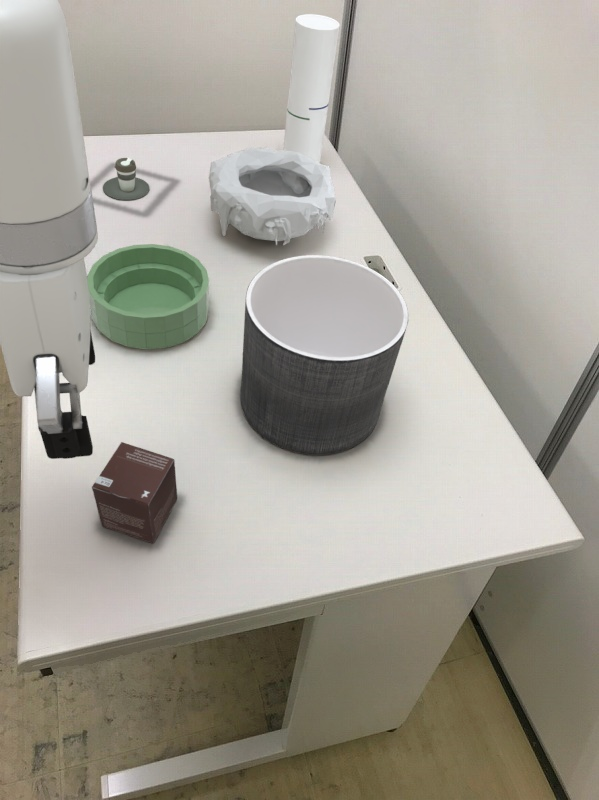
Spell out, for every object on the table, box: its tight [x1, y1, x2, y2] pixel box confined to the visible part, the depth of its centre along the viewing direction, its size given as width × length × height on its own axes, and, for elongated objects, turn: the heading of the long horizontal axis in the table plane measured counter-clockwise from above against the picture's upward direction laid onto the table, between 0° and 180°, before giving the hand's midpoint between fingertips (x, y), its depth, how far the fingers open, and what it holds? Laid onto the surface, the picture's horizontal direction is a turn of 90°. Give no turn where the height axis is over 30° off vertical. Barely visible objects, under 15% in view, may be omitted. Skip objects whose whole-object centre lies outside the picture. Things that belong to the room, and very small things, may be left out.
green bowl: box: [87, 243, 210, 350], centre depth 87 cm, size 16×16×6 cm
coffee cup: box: [102, 157, 150, 201], centre depth 108 cm, size 12×12×5 cm
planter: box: [239, 254, 409, 456], centre depth 75 cm, size 18×18×16 cm
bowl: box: [208, 146, 337, 246], centre depth 103 cm, size 21×20×10 cm
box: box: [91, 441, 178, 544], centre depth 65 cm, size 6×6×7 cm
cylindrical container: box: [282, 13, 341, 164], centre depth 112 cm, size 7×7×25 cm
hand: (73, 405), depth 51 cm, fingers open, 9 cm apart
